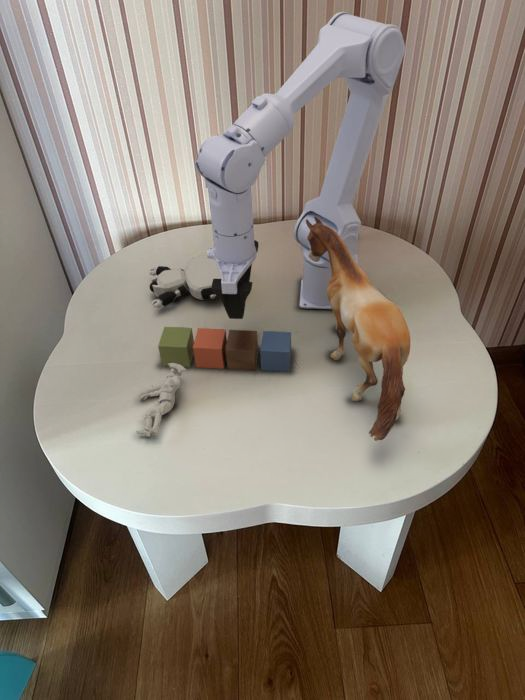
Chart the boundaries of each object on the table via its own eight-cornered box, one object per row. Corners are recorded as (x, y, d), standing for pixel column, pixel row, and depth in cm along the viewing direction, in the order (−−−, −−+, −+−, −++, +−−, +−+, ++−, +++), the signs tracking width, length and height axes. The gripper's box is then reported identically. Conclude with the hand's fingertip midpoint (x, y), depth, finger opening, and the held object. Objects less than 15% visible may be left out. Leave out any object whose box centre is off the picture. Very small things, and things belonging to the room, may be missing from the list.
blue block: (291, 351, 92) (291, 331, 89) (289, 372, 89) (289, 352, 86) (263, 350, 93) (263, 330, 89) (261, 370, 89) (260, 350, 86)
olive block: (195, 347, 94) (191, 327, 90) (189, 367, 90) (186, 347, 87) (168, 346, 94) (164, 326, 91) (162, 365, 91) (158, 346, 88)
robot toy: (155, 321, 100) (238, 304, 101) (148, 302, 97) (234, 284, 97) (151, 279, 108) (228, 264, 109) (145, 260, 105) (224, 244, 106)
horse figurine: (301, 319, 98) (303, 215, 83) (343, 310, 99) (353, 206, 84) (369, 466, 76) (389, 360, 62) (422, 453, 77) (453, 346, 63)
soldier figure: (125, 436, 82) (144, 362, 88) (154, 446, 85) (170, 373, 90) (151, 427, 77) (169, 349, 82) (181, 438, 79) (197, 361, 84)
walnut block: (258, 350, 93) (257, 330, 89) (255, 370, 89) (254, 350, 86) (231, 349, 93) (229, 329, 90) (227, 369, 90) (225, 349, 87)
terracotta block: (227, 349, 93) (225, 329, 90) (223, 368, 90) (221, 348, 87) (201, 347, 94) (197, 327, 90) (196, 367, 90) (192, 347, 87)
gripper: (211, 197, 83) (220, 271, 93) (195, 255, 73) (206, 331, 83) (259, 198, 82) (262, 272, 92) (249, 256, 72) (254, 333, 82)
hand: (239, 300), depth 87 cm, fingers open, 7 cm apart
